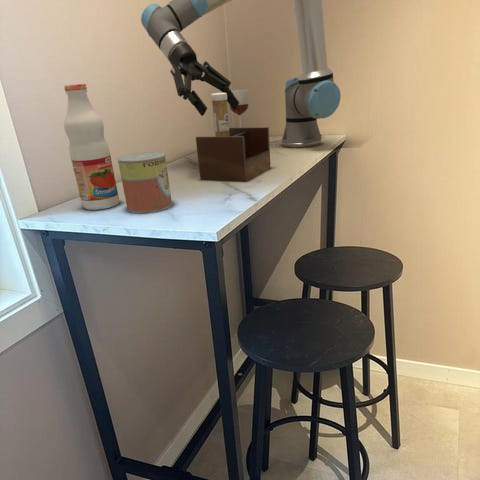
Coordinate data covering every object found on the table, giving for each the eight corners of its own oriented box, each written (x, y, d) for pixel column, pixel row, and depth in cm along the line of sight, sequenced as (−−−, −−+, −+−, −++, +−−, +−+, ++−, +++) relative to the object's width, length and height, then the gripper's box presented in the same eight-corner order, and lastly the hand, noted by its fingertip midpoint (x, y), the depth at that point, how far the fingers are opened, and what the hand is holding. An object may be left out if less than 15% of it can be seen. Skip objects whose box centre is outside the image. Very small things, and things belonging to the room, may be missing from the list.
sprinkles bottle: (227, 143, 136) (223, 93, 129) (213, 144, 137) (208, 94, 131) (232, 141, 140) (228, 91, 133) (218, 141, 141) (214, 92, 135)
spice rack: (228, 167, 151) (225, 127, 146) (270, 168, 145) (268, 127, 139) (200, 179, 138) (195, 137, 132) (245, 181, 131) (242, 136, 125)
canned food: (163, 212, 109) (155, 160, 104) (119, 213, 112) (109, 162, 106) (178, 199, 119) (171, 151, 113) (137, 200, 121) (128, 153, 115)
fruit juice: (97, 199, 125) (72, 84, 112) (127, 200, 122) (104, 82, 108) (75, 209, 118) (44, 87, 104) (105, 211, 114) (78, 84, 101)
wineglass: (232, 143, 194) (228, 90, 184) (253, 142, 193) (250, 88, 183) (229, 146, 187) (225, 92, 178) (251, 145, 186) (247, 90, 176)
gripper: (203, 61, 146) (242, 113, 145) (141, 66, 131) (184, 125, 129) (214, 40, 141) (254, 94, 139) (150, 43, 125) (195, 104, 123)
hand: (221, 109), depth 134 cm, fingers open, 13 cm apart
